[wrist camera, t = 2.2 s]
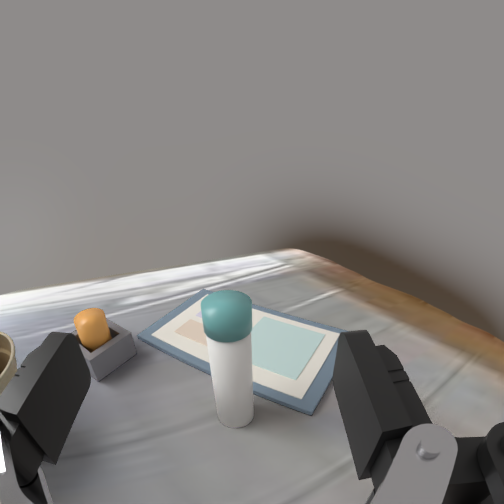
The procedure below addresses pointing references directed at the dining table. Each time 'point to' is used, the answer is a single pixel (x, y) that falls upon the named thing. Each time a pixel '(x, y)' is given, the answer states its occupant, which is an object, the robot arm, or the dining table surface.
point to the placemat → (259, 351)
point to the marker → (230, 354)
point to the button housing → (109, 352)
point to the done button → (92, 328)
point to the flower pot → (6, 361)
